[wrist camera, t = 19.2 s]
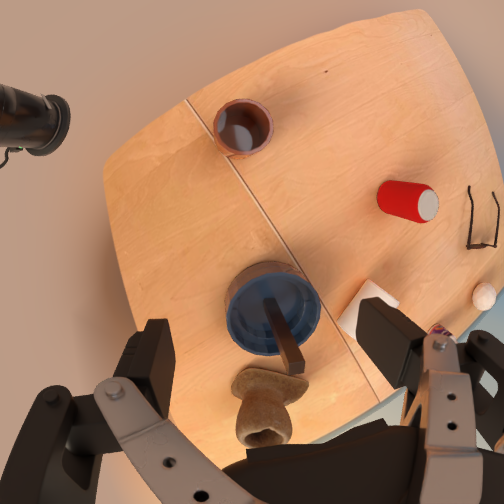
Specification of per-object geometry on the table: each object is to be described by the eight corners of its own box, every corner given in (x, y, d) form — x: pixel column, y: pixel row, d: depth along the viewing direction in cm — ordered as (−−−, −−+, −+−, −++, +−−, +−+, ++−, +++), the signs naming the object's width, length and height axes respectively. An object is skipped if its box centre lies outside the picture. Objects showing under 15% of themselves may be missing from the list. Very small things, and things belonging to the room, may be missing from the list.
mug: (330, 315, 51) (347, 336, 43) (361, 273, 49) (382, 289, 42) (368, 336, 54) (385, 356, 47) (395, 298, 53) (417, 315, 45)
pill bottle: (443, 323, 58) (465, 341, 48) (434, 341, 59) (455, 360, 50) (432, 322, 57) (455, 341, 47) (422, 340, 58) (444, 360, 49)
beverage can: (368, 195, 45) (409, 204, 34) (388, 173, 45) (431, 176, 33) (386, 219, 47) (427, 233, 36) (404, 197, 46) (447, 206, 35)
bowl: (228, 340, 50) (230, 360, 44) (221, 263, 45) (222, 276, 40) (307, 331, 51) (317, 349, 46) (310, 256, 47) (323, 268, 41)
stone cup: (220, 395, 54) (224, 450, 39) (245, 357, 51) (256, 413, 37) (280, 410, 57) (294, 459, 43) (307, 376, 55) (330, 425, 41)
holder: (214, 160, 41) (214, 156, 32) (213, 114, 39) (212, 99, 30) (262, 158, 42) (274, 154, 33) (260, 113, 40) (272, 99, 31)
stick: (263, 308, 48) (288, 375, 31) (263, 298, 47) (288, 363, 30) (274, 307, 48) (304, 373, 31) (274, 297, 48) (305, 360, 30)
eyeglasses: (459, 246, 52) (473, 252, 47) (466, 184, 48) (481, 187, 43) (488, 245, 54) (500, 250, 49) (494, 191, 50) (507, 193, 45)
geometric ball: (470, 292, 60) (481, 316, 56) (466, 291, 56) (477, 316, 51) (489, 278, 56) (500, 301, 51) (486, 275, 51) (499, 300, 47)
